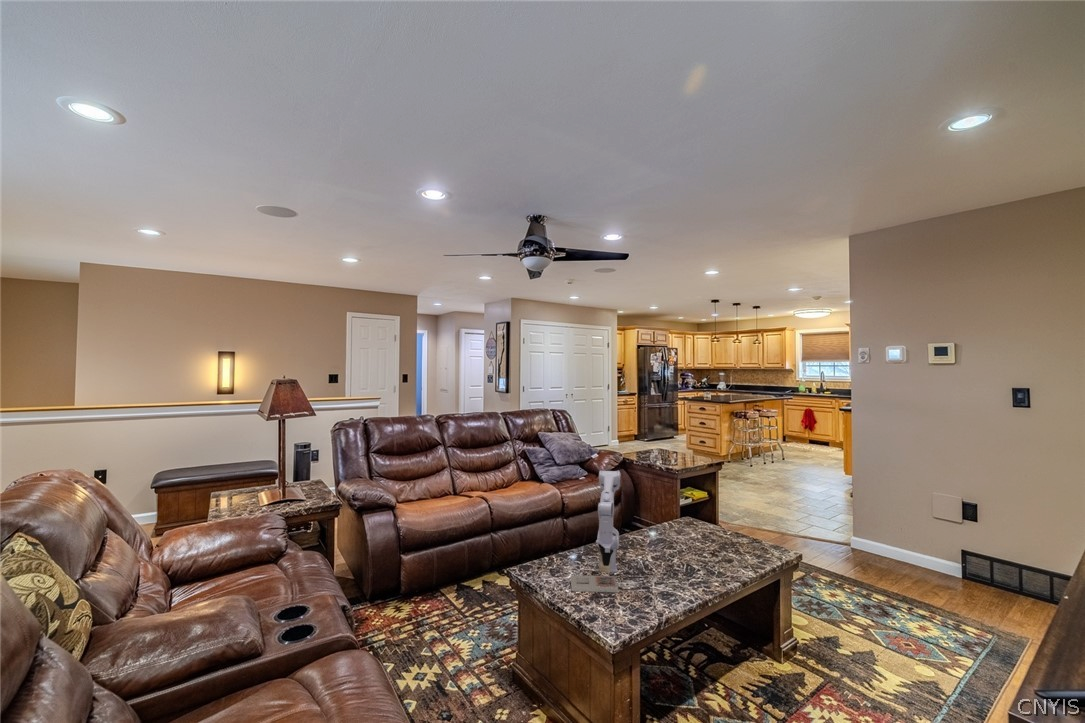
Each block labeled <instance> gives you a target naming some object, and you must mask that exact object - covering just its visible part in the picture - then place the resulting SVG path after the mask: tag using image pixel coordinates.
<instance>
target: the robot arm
mask: <svg viewBox="0 0 1085 723" xmlns="http://www.w3.org/2000/svg"><path fill="white" fill-rule="evenodd" d="M598 483H599V488H600V489H602V491H601V493H600V500H599V502H598V504H597V514H598V520H599V521H598V531H597V539H596V540H595V543H596V545H597V548H599V549H598V550H599V553H600V552H601V554H602V560H603V565H604V566H609V562H610V572H611V573H618V568H617V550H618V549H619V548H620V532H619V531H618V529H616V528H615V527H614V514H615V493H616V491H618V490H620V487H621V472H620V471H619V470H618V471H617V470H599V472H598ZM597 565H598V568H599V570H600V561H598V562H597Z"/></svg>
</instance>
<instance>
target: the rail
mask: <svg viewBox="0 0 1085 723" xmlns="http://www.w3.org/2000/svg"><path fill="white" fill-rule="evenodd" d="M570 585H571V592H585V593H586V592H589V593H591V592H594V593H619V586H618V582H617V579H616V576H614V575H613V576H611V575H610V576H609V575H581V574H580V575H576V574H575V575H574V574H571V575H570Z"/></svg>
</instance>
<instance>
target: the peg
mask: <svg viewBox="0 0 1085 723" xmlns="http://www.w3.org/2000/svg"><path fill="white" fill-rule="evenodd" d="M599 562H600V569H599V572H600V573H610V562H609V566H604V565H603V560H602V554H601V552H600V551H599Z"/></svg>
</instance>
